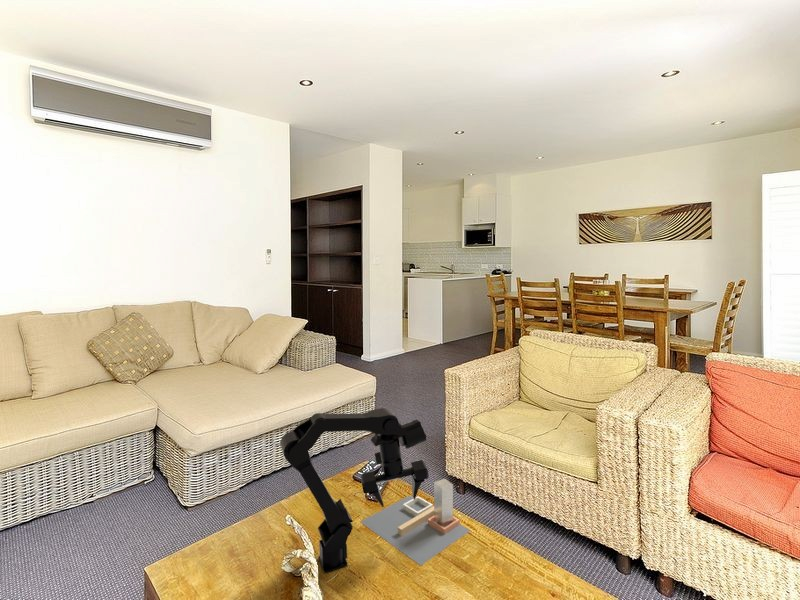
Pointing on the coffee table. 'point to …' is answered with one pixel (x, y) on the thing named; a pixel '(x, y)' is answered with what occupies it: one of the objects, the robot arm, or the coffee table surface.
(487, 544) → the coffee table surface
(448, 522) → the block
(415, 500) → the socket
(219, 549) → the coffee table surface
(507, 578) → the coffee table surface
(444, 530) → the socket
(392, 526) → the door board
